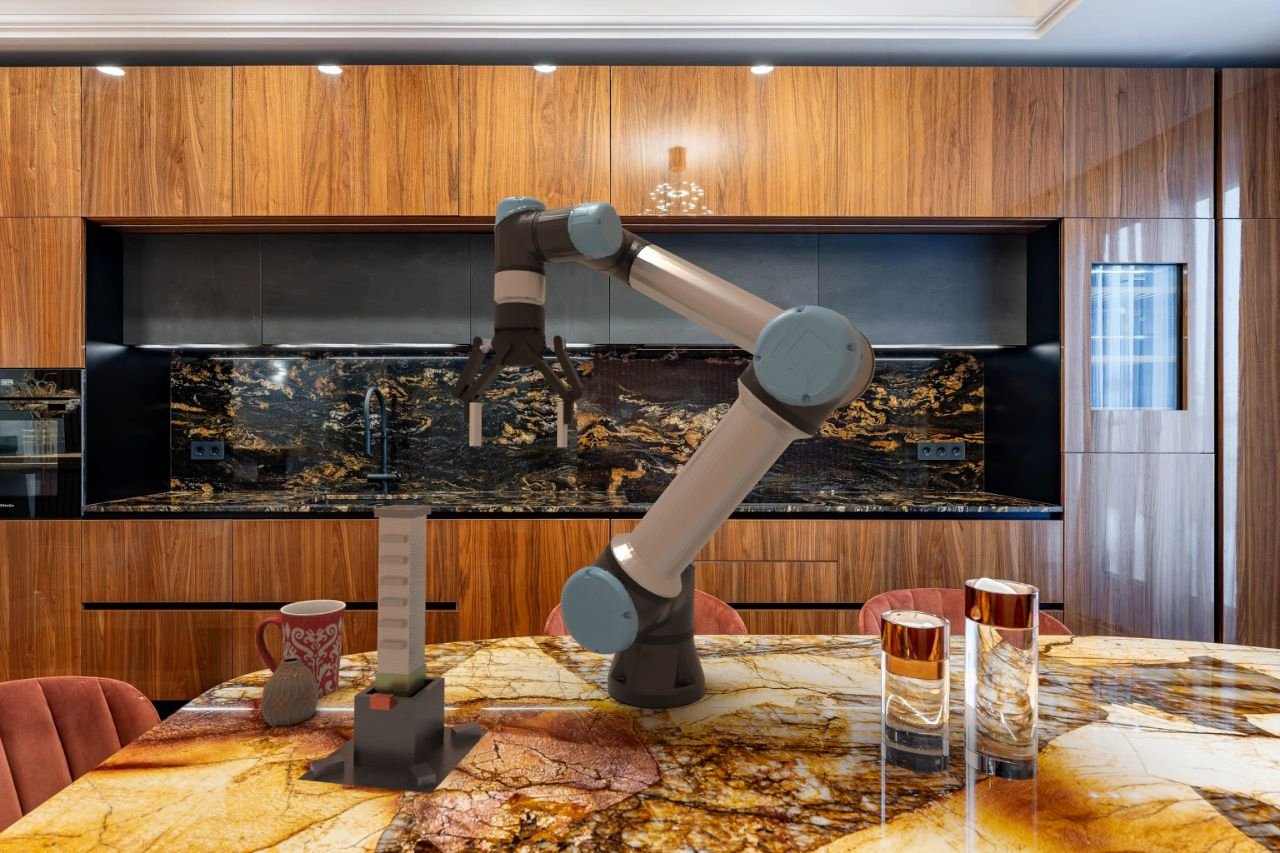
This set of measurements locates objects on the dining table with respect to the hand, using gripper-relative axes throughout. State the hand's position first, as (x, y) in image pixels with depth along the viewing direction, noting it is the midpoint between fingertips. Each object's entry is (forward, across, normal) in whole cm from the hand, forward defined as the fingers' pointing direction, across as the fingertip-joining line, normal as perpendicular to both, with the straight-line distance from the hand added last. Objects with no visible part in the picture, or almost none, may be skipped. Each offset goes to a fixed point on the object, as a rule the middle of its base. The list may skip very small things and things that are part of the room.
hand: (518, 446), depth 103 cm
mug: (+38, +32, +5) cm, 50 cm away
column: (+29, +7, +21) cm, 36 cm away
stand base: (+38, +7, +21) cm, 44 cm away
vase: (+38, +27, +14) cm, 49 cm away
